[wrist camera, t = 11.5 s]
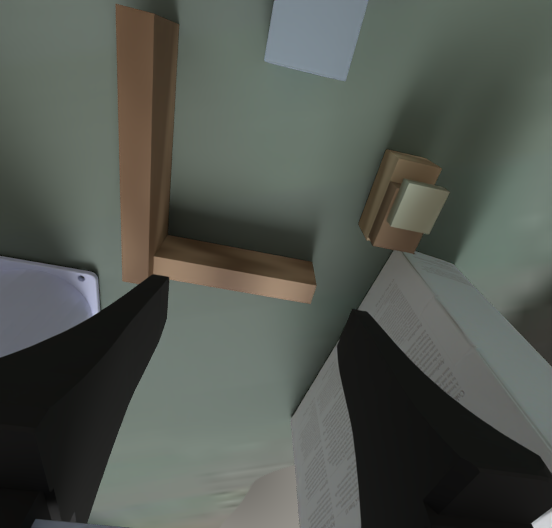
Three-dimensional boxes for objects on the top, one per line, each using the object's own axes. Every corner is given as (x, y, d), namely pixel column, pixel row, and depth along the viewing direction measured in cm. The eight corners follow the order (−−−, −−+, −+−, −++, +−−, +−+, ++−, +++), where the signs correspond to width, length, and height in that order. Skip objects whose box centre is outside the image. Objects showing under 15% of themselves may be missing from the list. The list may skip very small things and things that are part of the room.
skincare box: (338, 429, 34) (380, 670, 21) (289, 418, 33) (298, 663, 20) (463, 263, 24) (710, 522, 10) (397, 241, 23) (573, 493, 9)
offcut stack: (358, 224, 22) (375, 256, 19) (386, 149, 20) (412, 168, 16) (393, 231, 23) (416, 264, 19) (424, 157, 20) (459, 179, 16)
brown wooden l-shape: (144, 249, 23) (121, 281, 20) (147, 16, 17) (114, 3, 13) (306, 278, 25) (311, 313, 21) (371, 74, 18) (394, 75, 14)
